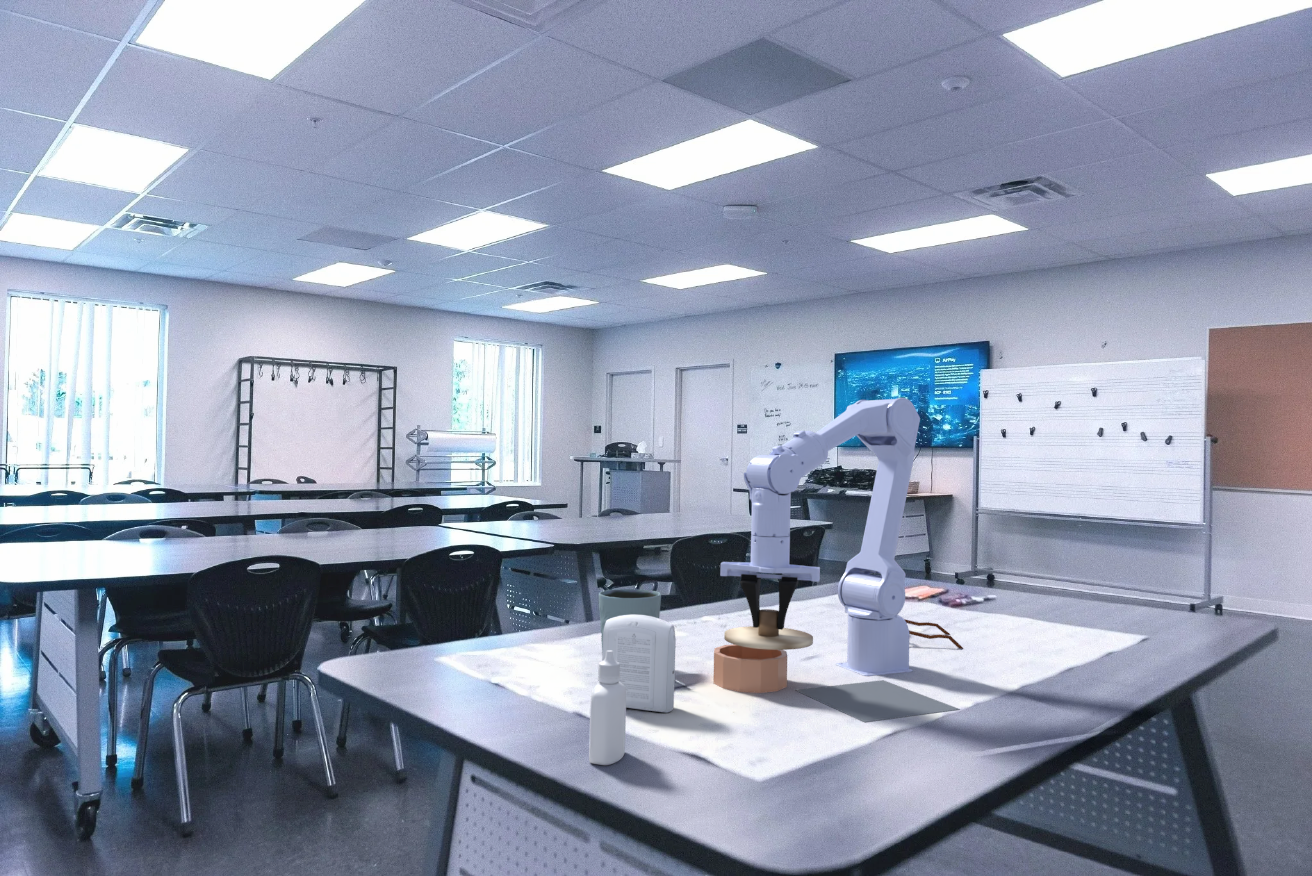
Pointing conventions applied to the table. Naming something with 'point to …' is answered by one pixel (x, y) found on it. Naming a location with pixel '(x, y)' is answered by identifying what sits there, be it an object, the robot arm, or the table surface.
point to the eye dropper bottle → (607, 714)
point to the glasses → (932, 635)
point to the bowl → (750, 669)
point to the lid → (768, 634)
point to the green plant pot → (627, 604)
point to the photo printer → (643, 659)
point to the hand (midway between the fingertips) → (768, 627)
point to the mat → (876, 700)
